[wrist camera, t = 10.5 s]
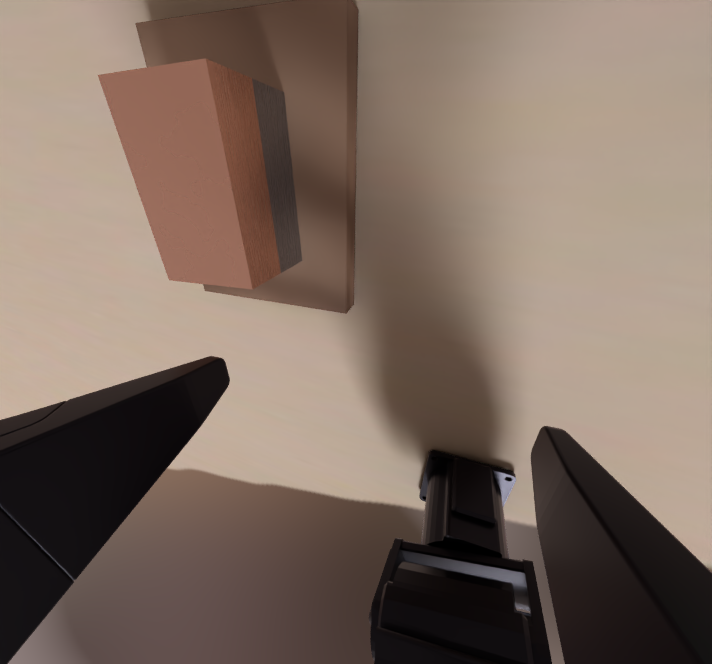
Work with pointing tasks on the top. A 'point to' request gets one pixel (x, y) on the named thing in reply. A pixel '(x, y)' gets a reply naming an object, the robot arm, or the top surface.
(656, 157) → the top surface
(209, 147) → the block
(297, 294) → the walnut stand
